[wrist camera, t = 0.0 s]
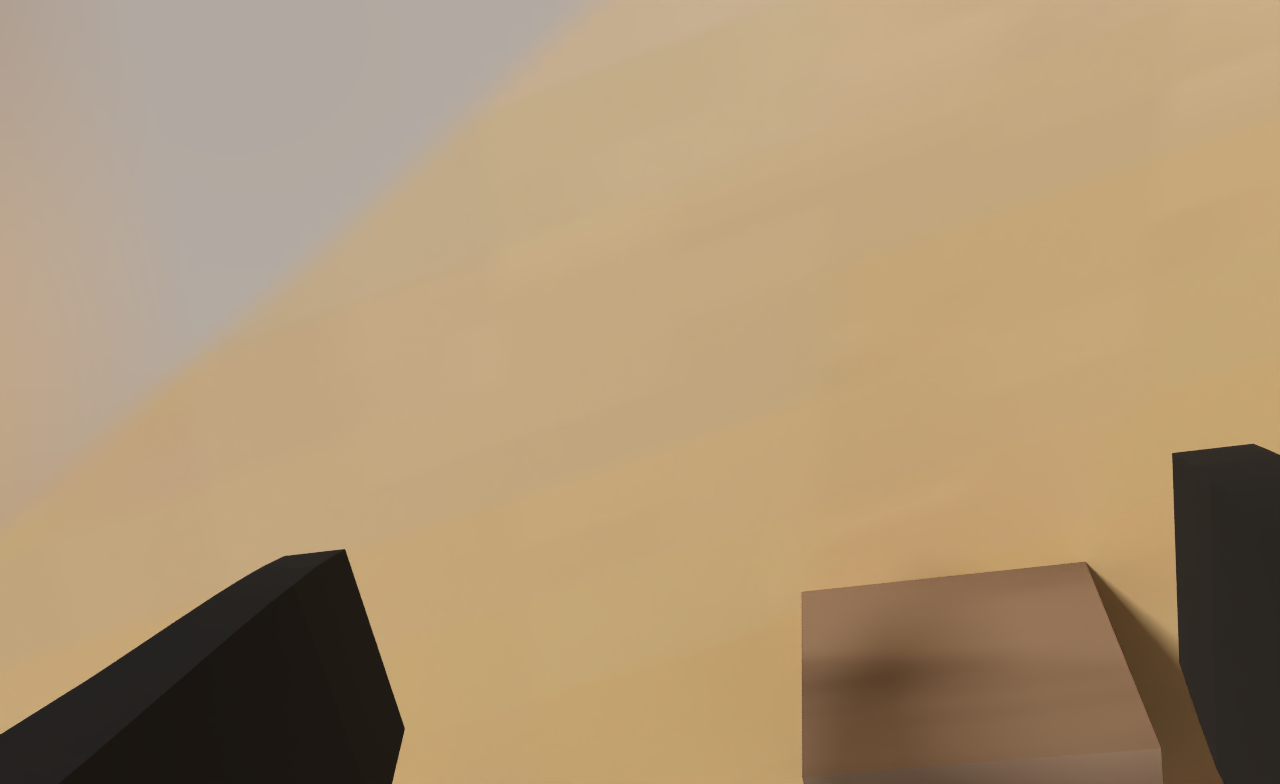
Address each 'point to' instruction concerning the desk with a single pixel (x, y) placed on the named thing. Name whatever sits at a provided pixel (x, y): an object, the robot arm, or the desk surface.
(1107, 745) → the walnut cube
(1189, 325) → the desk surface
